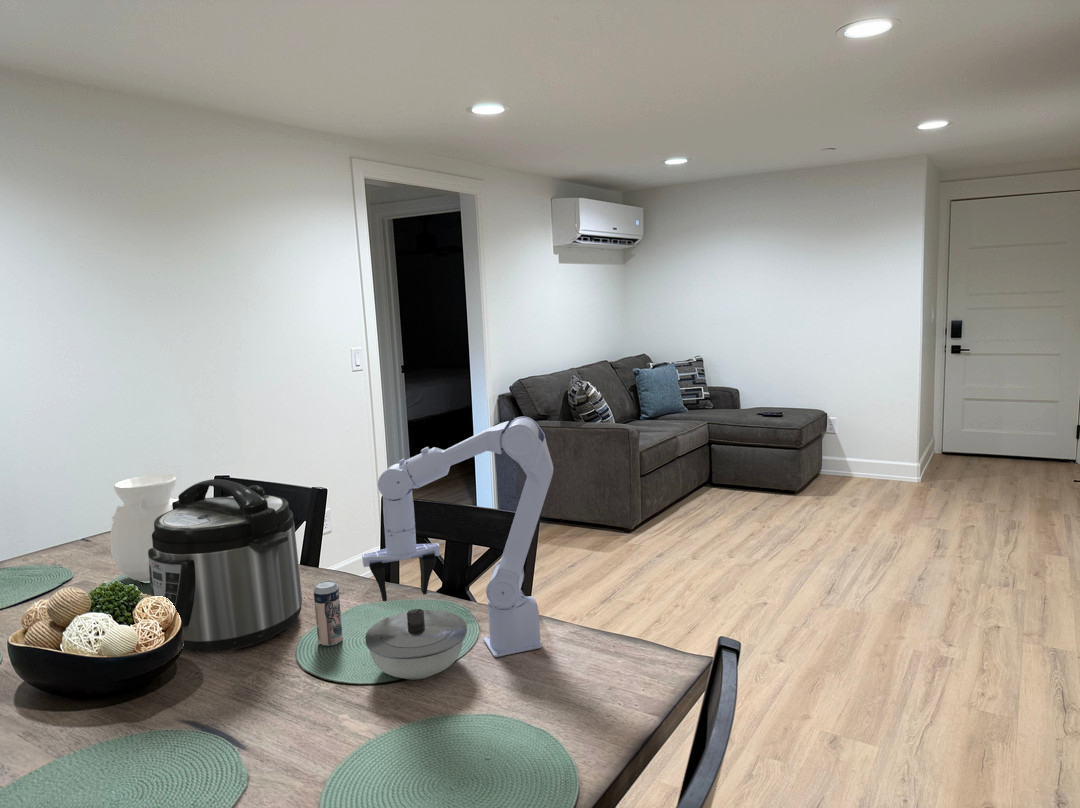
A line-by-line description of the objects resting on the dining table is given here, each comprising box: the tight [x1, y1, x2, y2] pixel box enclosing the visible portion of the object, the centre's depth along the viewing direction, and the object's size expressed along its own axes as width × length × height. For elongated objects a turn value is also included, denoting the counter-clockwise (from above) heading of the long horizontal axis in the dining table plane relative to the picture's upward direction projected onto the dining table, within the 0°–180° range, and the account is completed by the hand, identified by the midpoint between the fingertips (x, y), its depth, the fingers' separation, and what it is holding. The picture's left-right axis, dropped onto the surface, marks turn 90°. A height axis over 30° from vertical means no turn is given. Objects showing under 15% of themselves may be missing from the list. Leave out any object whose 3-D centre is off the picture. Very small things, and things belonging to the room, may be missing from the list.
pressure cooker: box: [148, 478, 303, 654], centre depth 154 cm, size 30×28×32 cm
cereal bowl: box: [369, 640, 464, 680], centre depth 135 cm, size 17×17×7 cm
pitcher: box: [109, 474, 179, 581], centre depth 185 cm, size 19×18×25 cm
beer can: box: [313, 580, 344, 646], centre depth 147 cm, size 5×5×12 cm
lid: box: [364, 608, 468, 659], centre depth 133 cm, size 18×18×4 cm
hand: (404, 595), depth 143 cm, fingers open, 7 cm apart
